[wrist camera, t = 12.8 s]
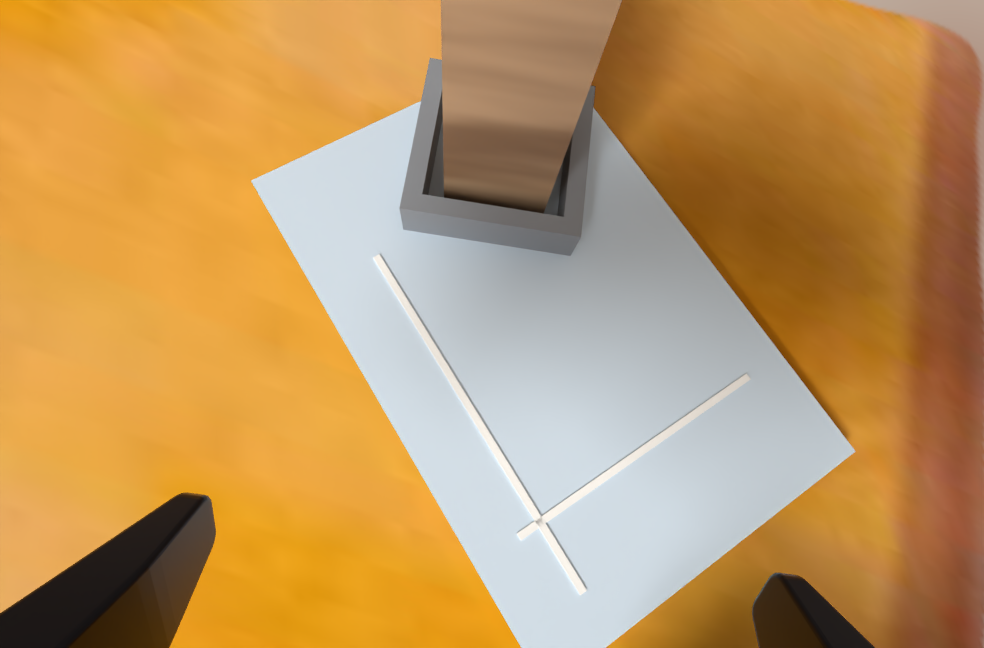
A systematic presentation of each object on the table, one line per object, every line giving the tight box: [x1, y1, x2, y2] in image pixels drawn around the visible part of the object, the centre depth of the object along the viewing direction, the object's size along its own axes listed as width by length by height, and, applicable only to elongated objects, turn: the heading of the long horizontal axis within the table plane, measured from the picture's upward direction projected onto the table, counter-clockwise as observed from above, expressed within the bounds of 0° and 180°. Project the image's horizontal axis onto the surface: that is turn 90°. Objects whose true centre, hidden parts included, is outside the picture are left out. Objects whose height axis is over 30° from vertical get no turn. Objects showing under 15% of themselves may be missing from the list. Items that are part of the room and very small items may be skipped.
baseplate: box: [251, 58, 855, 648], centre depth 23 cm, size 24×16×3 cm, turn 32°
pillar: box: [441, 0, 622, 214], centre depth 19 cm, size 4×4×13 cm
